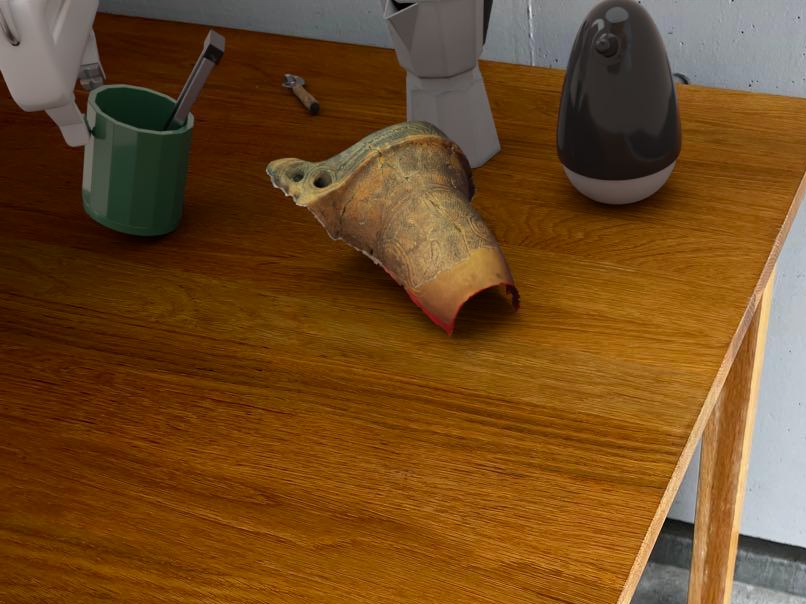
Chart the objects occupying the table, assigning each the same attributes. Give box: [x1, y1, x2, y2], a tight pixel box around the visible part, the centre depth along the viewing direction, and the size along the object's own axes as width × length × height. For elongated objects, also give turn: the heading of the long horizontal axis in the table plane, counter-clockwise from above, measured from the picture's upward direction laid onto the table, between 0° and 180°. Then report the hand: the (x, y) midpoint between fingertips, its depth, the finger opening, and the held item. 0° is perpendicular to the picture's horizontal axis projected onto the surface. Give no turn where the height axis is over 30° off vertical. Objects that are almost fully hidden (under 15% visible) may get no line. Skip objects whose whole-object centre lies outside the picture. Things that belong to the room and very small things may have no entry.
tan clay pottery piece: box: [265, 121, 522, 338], centre depth 79 cm, size 17×11×18 cm
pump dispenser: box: [555, 0, 683, 205], centre depth 83 cm, size 10×10×15 cm
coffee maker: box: [379, 0, 502, 169], centre depth 89 cm, size 15×9×18 cm, turn 148°
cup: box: [81, 83, 195, 237], centre depth 86 cm, size 8×8×9 cm
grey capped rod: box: [161, 29, 226, 132], centre depth 84 cm, size 1×3×16 cm
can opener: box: [281, 73, 321, 114], centre depth 104 cm, size 9×2×1 cm, turn 22°
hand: (88, 112), depth 85 cm, fingers open, 8 cm apart
